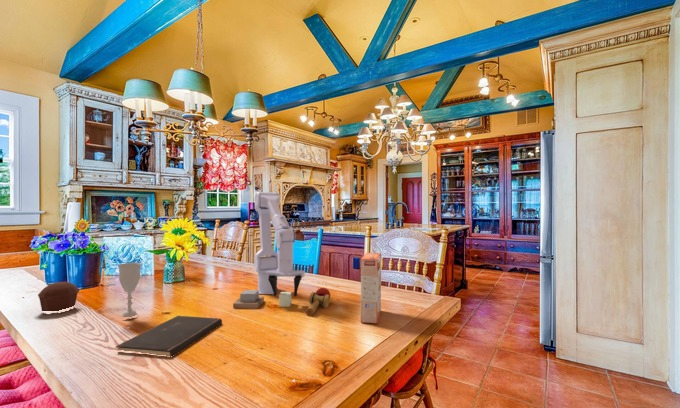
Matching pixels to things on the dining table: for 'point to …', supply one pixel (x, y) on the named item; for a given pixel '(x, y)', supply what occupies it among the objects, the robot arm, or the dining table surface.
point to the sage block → (285, 299)
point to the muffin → (58, 296)
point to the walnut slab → (248, 303)
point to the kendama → (318, 300)
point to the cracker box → (370, 287)
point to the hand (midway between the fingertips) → (285, 295)
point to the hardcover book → (171, 335)
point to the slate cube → (249, 295)
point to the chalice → (129, 283)
